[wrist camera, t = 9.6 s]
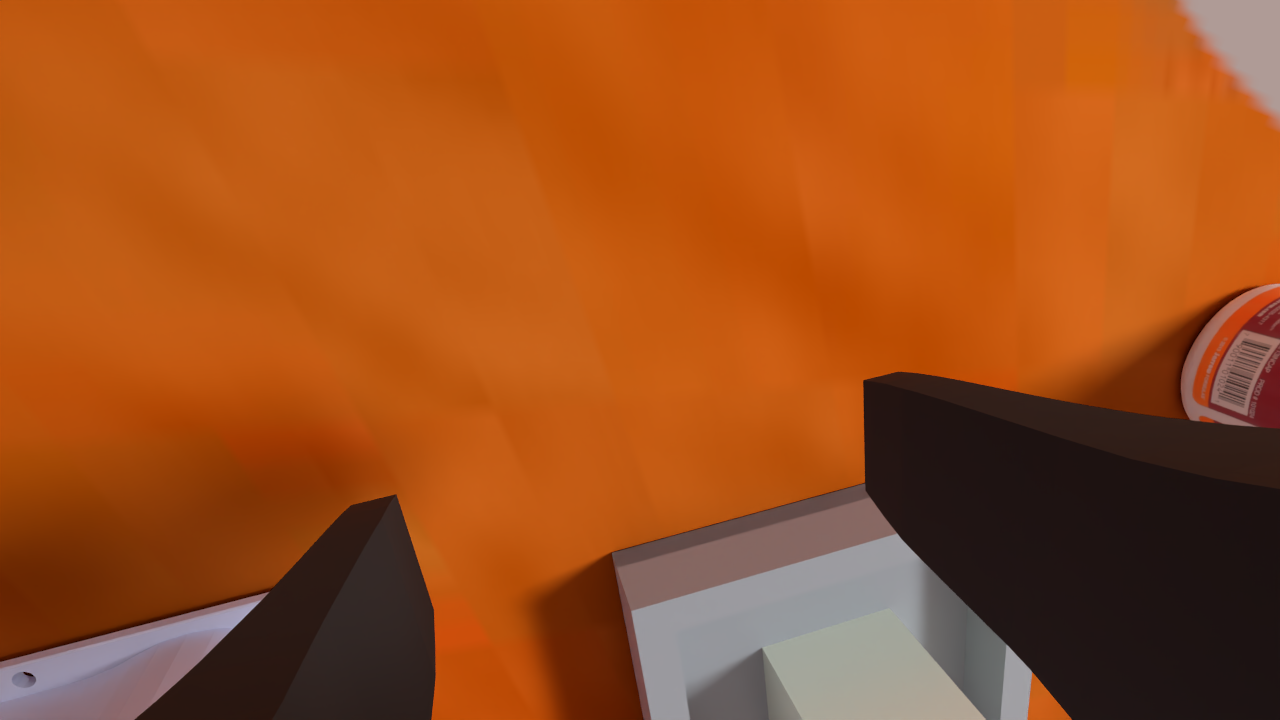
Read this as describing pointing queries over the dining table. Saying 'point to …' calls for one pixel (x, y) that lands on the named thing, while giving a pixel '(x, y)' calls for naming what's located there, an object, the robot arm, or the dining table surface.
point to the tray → (791, 607)
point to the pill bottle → (1237, 363)
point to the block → (860, 675)
